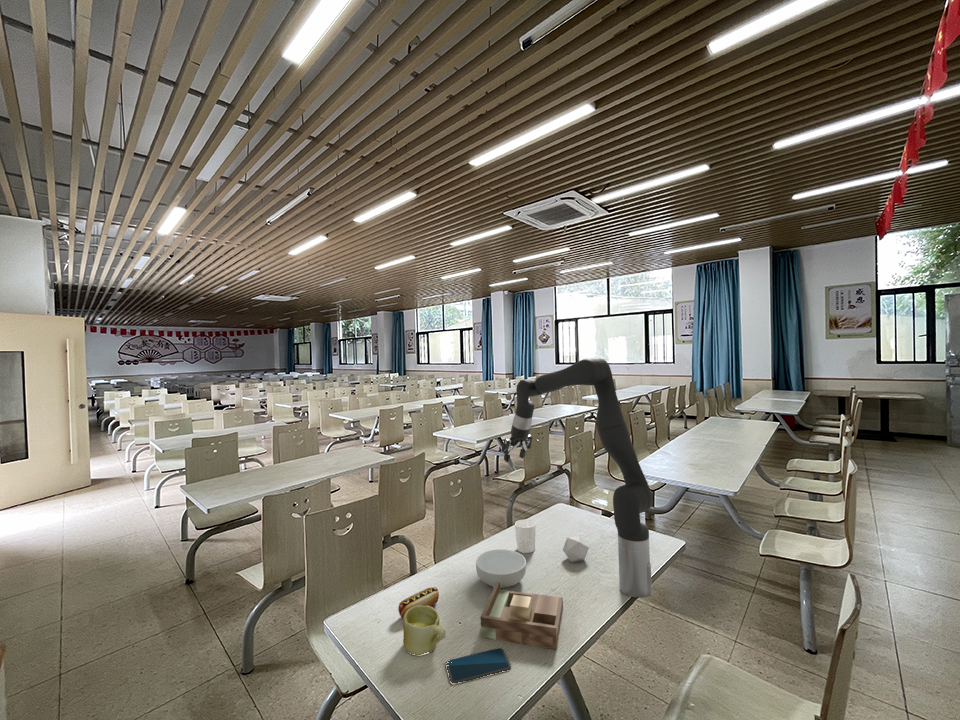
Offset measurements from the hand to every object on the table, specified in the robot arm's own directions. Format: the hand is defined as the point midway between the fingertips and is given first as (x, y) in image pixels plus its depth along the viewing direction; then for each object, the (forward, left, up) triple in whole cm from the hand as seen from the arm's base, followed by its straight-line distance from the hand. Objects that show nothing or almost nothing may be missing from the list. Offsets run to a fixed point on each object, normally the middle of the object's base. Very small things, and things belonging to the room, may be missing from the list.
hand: (513, 459), depth 176 cm
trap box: (-14, +57, -31) cm, 66 cm away
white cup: (-7, +14, -31) cm, 35 cm away
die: (-26, +18, -31) cm, 44 cm away
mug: (+9, +73, -31) cm, 80 cm away
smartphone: (-6, +76, -31) cm, 83 cm away
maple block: (-14, +61, -28) cm, 68 cm away
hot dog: (+17, +59, -31) cm, 69 cm away
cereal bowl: (-3, +38, -31) cm, 49 cm away
